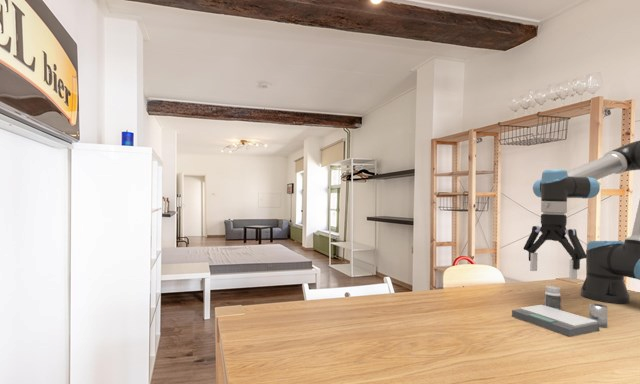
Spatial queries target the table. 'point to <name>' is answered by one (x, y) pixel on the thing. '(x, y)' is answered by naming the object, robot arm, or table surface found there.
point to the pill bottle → (553, 297)
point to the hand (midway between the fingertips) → (552, 274)
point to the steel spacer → (598, 314)
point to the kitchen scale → (556, 320)
